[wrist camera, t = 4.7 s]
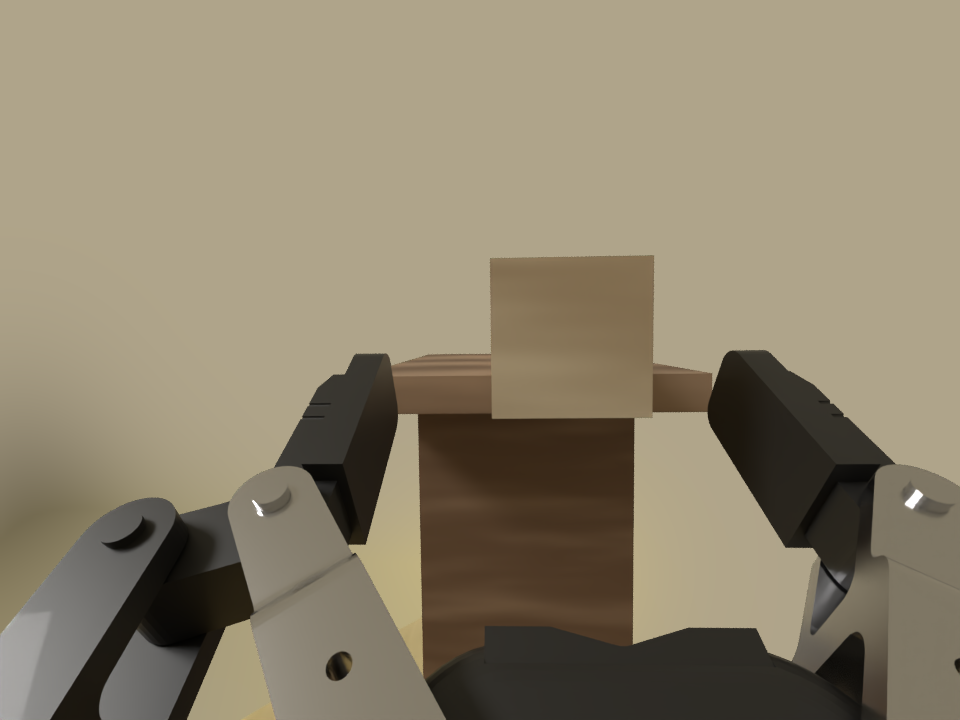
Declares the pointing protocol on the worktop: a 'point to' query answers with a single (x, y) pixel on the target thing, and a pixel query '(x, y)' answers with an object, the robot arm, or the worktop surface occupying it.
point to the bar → (572, 337)
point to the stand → (523, 507)
